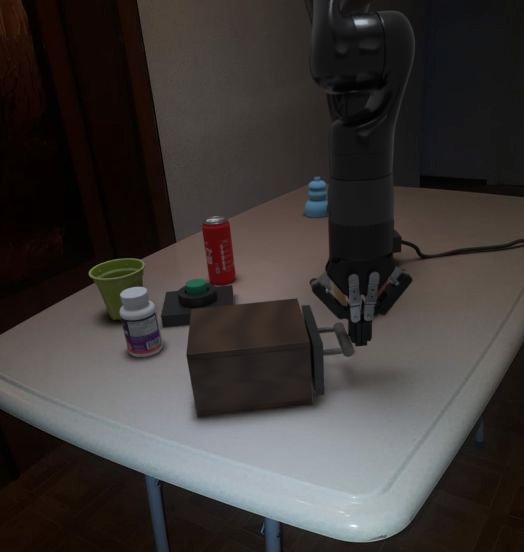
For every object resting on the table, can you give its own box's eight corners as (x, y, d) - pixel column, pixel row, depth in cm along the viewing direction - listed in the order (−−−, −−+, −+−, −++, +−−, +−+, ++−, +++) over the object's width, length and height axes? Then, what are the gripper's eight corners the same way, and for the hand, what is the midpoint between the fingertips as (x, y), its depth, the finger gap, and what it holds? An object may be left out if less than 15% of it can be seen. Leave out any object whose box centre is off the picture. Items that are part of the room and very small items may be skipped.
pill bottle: (130, 343, 88) (117, 286, 84) (164, 339, 89) (153, 282, 84) (126, 360, 84) (112, 301, 79) (162, 356, 84) (150, 297, 79)
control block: (233, 296, 101) (231, 275, 99) (234, 320, 93) (232, 298, 91) (168, 302, 101) (164, 282, 99) (163, 327, 92) (158, 305, 90)
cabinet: (300, 355, 81) (297, 298, 76) (313, 405, 70) (310, 341, 65) (200, 365, 81) (191, 309, 76) (197, 417, 70) (186, 354, 65)
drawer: (341, 347, 80) (340, 301, 76) (358, 391, 70) (358, 340, 66) (218, 360, 80) (211, 314, 76) (217, 406, 70) (210, 356, 66)
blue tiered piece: (380, 212, 138) (380, 175, 134) (361, 225, 131) (361, 186, 126) (316, 206, 147) (315, 171, 143) (296, 218, 140) (294, 181, 136)
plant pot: (107, 331, 93) (95, 283, 89) (95, 311, 100) (83, 266, 96) (160, 316, 96) (151, 269, 92) (144, 298, 104) (135, 254, 100)
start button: (207, 287, 97) (206, 277, 96) (207, 295, 93) (205, 285, 93) (187, 289, 97) (185, 279, 96) (186, 297, 93) (184, 287, 93)
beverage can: (232, 285, 105) (225, 224, 100) (206, 285, 107) (197, 224, 101) (238, 275, 110) (232, 215, 104) (213, 275, 111) (205, 216, 105)
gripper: (308, 228, 61) (314, 363, 70) (427, 216, 61) (418, 352, 70) (299, 210, 68) (306, 335, 76) (407, 199, 68) (401, 325, 76)
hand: (360, 343), depth 73 cm, fingers closed
